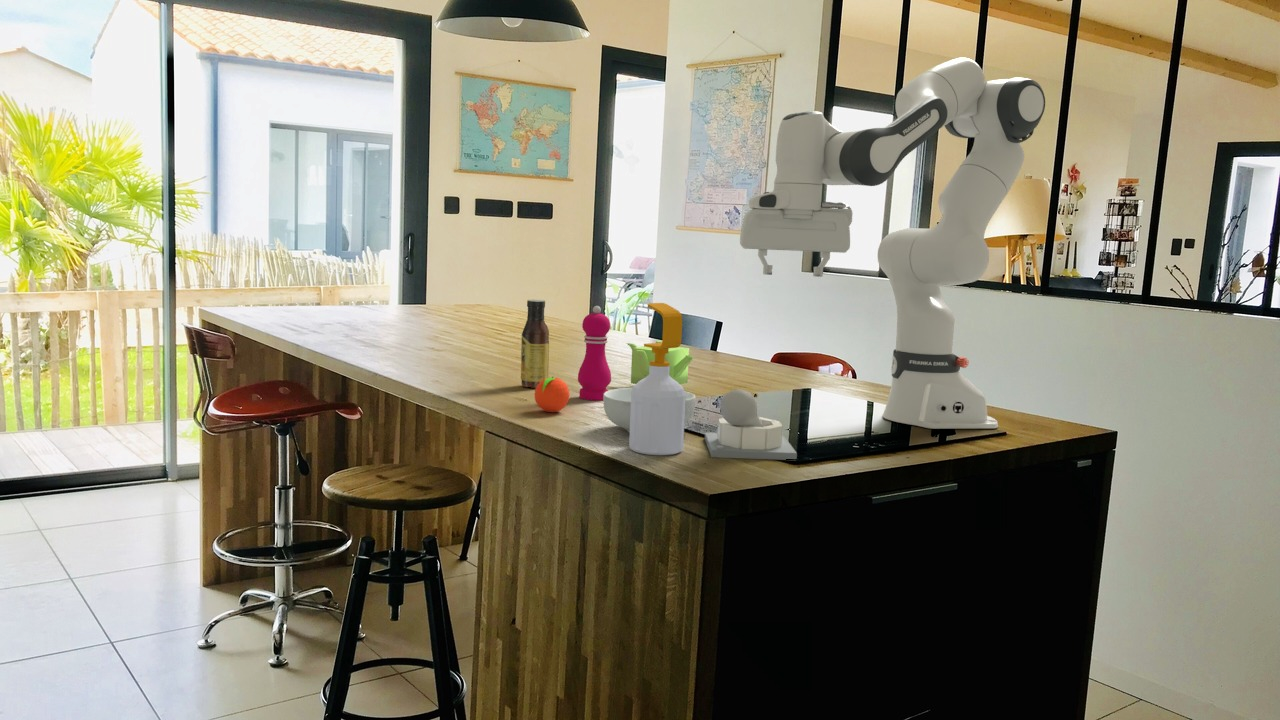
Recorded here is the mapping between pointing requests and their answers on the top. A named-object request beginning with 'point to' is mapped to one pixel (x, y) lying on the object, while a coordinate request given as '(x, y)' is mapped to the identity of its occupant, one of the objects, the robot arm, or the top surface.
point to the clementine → (552, 394)
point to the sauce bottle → (534, 346)
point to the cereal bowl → (620, 406)
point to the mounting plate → (748, 450)
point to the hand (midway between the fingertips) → (792, 275)
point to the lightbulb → (740, 409)
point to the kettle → (675, 357)
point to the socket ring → (751, 435)
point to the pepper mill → (595, 357)
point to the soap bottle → (659, 396)
